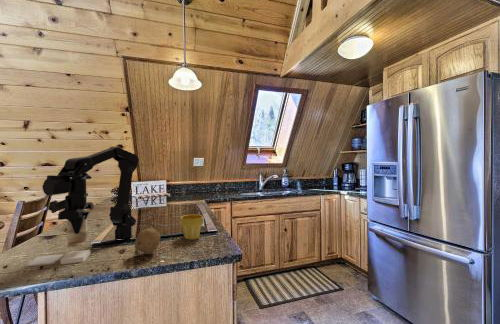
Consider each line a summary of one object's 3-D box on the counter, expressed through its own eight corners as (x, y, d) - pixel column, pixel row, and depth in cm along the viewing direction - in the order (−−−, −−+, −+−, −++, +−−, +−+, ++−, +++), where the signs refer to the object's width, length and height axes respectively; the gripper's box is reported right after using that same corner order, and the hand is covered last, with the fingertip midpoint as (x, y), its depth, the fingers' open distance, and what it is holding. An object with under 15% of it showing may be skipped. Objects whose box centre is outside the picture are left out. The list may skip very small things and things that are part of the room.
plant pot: (201, 233, 124) (201, 213, 124) (204, 239, 114) (204, 218, 114) (180, 235, 121) (179, 215, 121) (181, 242, 111) (181, 220, 111)
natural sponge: (134, 260, 91) (134, 233, 91) (135, 252, 99) (134, 227, 99) (161, 256, 94) (160, 230, 94) (159, 248, 103) (159, 224, 103)
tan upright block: (88, 241, 98) (88, 218, 98) (84, 245, 93) (84, 221, 93) (71, 243, 96) (70, 219, 96) (65, 247, 92) (65, 222, 91)
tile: (90, 249, 98) (83, 257, 90) (90, 254, 98) (83, 262, 90) (69, 251, 96) (60, 259, 88) (69, 257, 96) (60, 265, 88)
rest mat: (62, 255, 96) (62, 254, 96) (53, 263, 88) (53, 262, 88) (37, 258, 94) (37, 256, 94) (25, 266, 86) (25, 265, 86)
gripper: (62, 189, 101) (63, 228, 101) (39, 196, 83) (40, 243, 84) (93, 188, 104) (94, 225, 105) (78, 194, 87) (78, 239, 87)
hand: (78, 232), depth 95 cm, fingers closed on tan upright block
